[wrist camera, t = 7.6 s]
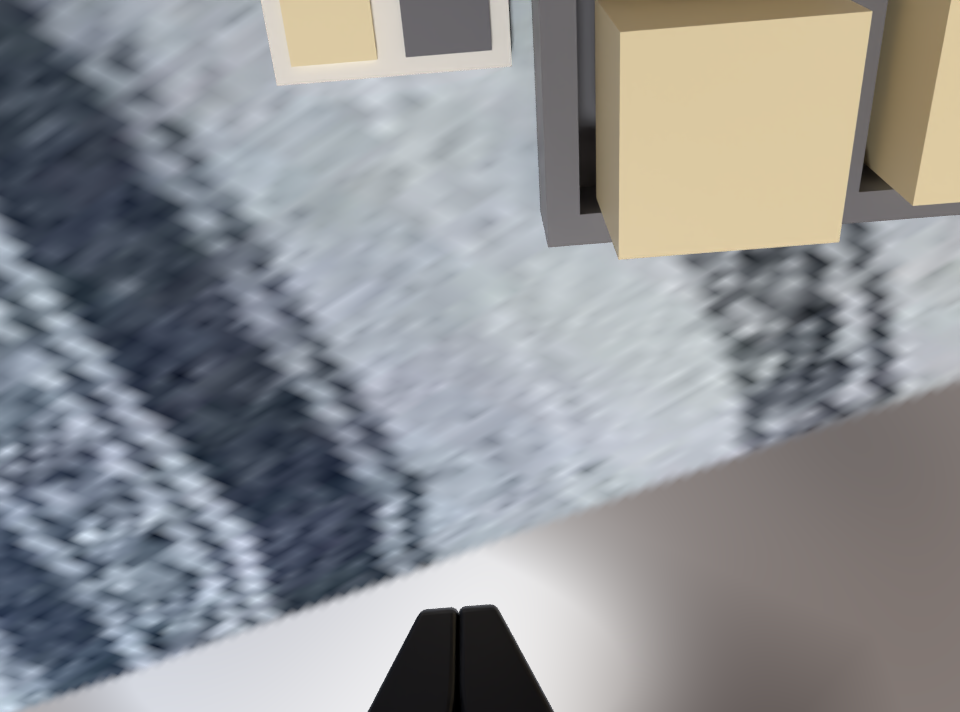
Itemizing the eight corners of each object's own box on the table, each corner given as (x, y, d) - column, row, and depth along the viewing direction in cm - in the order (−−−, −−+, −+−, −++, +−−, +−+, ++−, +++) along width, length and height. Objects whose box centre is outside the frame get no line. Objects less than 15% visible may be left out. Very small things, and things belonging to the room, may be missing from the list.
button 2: (596, 197, 19) (618, 259, 17) (594, -4, 17) (620, 32, 14) (786, 182, 19) (839, 242, 16) (808, -21, 17) (872, 11, 14)
